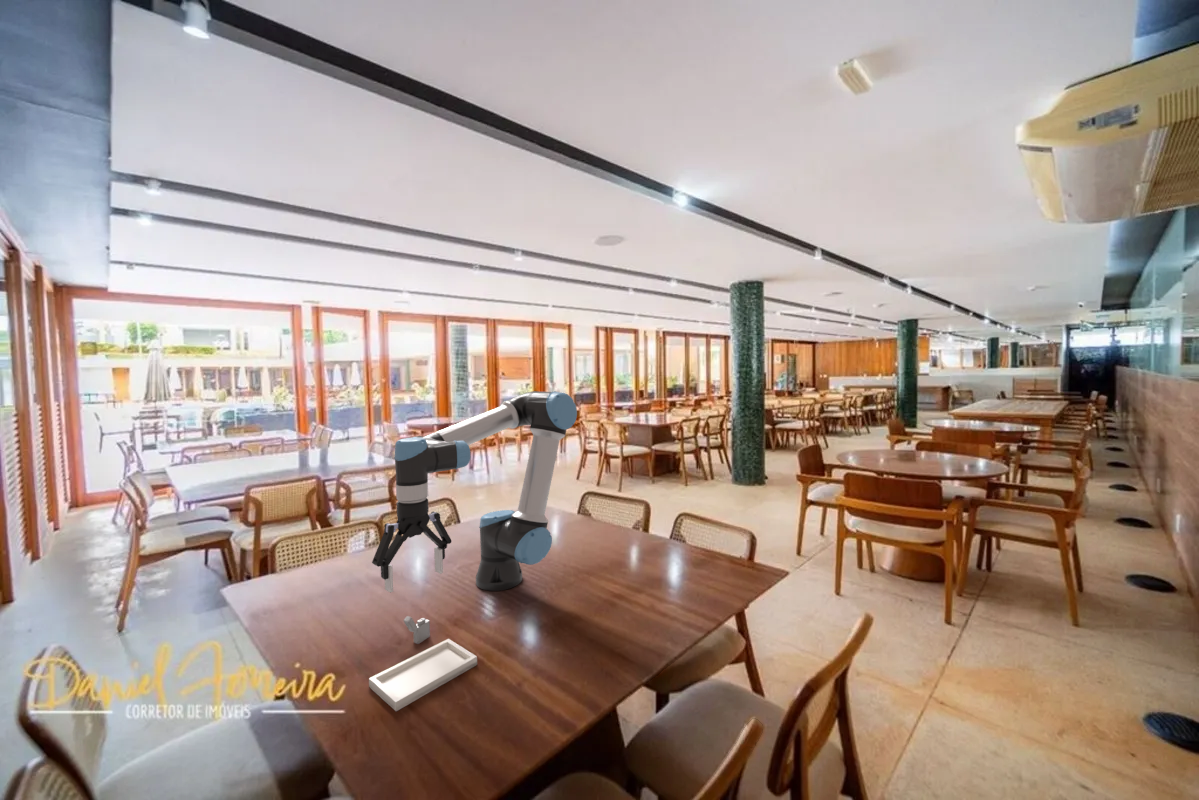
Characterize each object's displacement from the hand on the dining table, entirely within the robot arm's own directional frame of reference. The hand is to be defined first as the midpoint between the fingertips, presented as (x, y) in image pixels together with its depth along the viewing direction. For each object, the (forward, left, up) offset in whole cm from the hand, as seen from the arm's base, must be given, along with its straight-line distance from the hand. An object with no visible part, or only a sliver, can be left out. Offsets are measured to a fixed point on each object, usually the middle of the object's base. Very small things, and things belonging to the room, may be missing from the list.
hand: (415, 581), depth 122 cm
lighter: (0, 0, -16) cm, 17 cm away
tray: (+6, +14, -16) cm, 22 cm away
